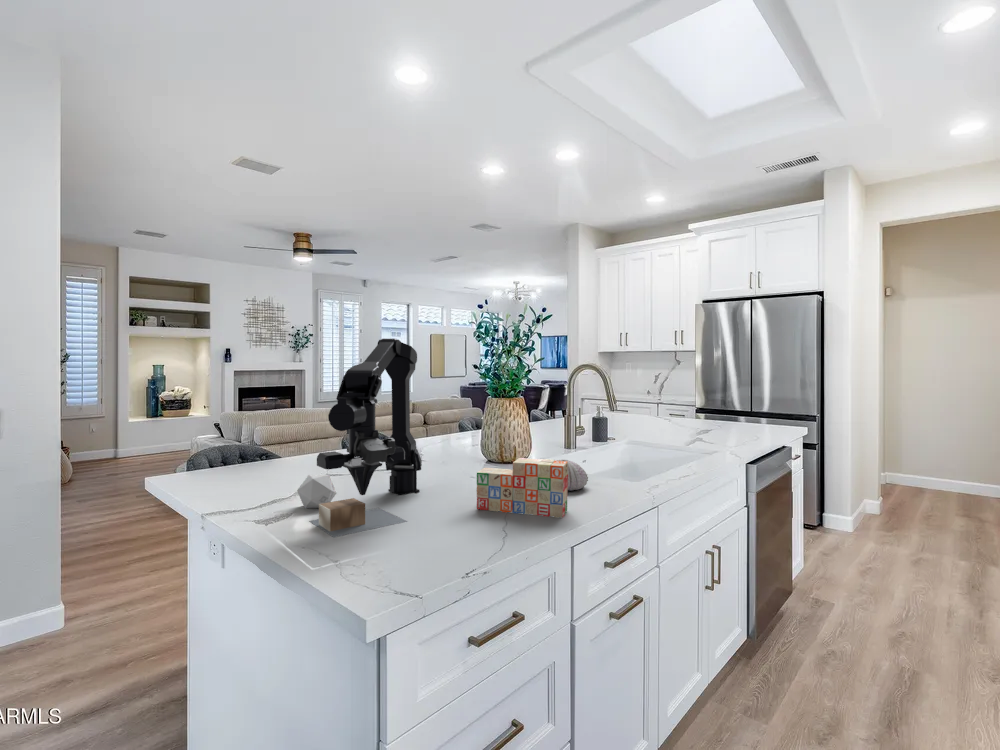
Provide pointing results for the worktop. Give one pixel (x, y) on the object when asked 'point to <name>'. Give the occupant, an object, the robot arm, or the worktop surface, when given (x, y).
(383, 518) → the rubber mat
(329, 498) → the die
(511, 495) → the stack of blocks
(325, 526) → the wooden block
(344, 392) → the robot arm
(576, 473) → the sea urchin shell
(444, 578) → the worktop surface
